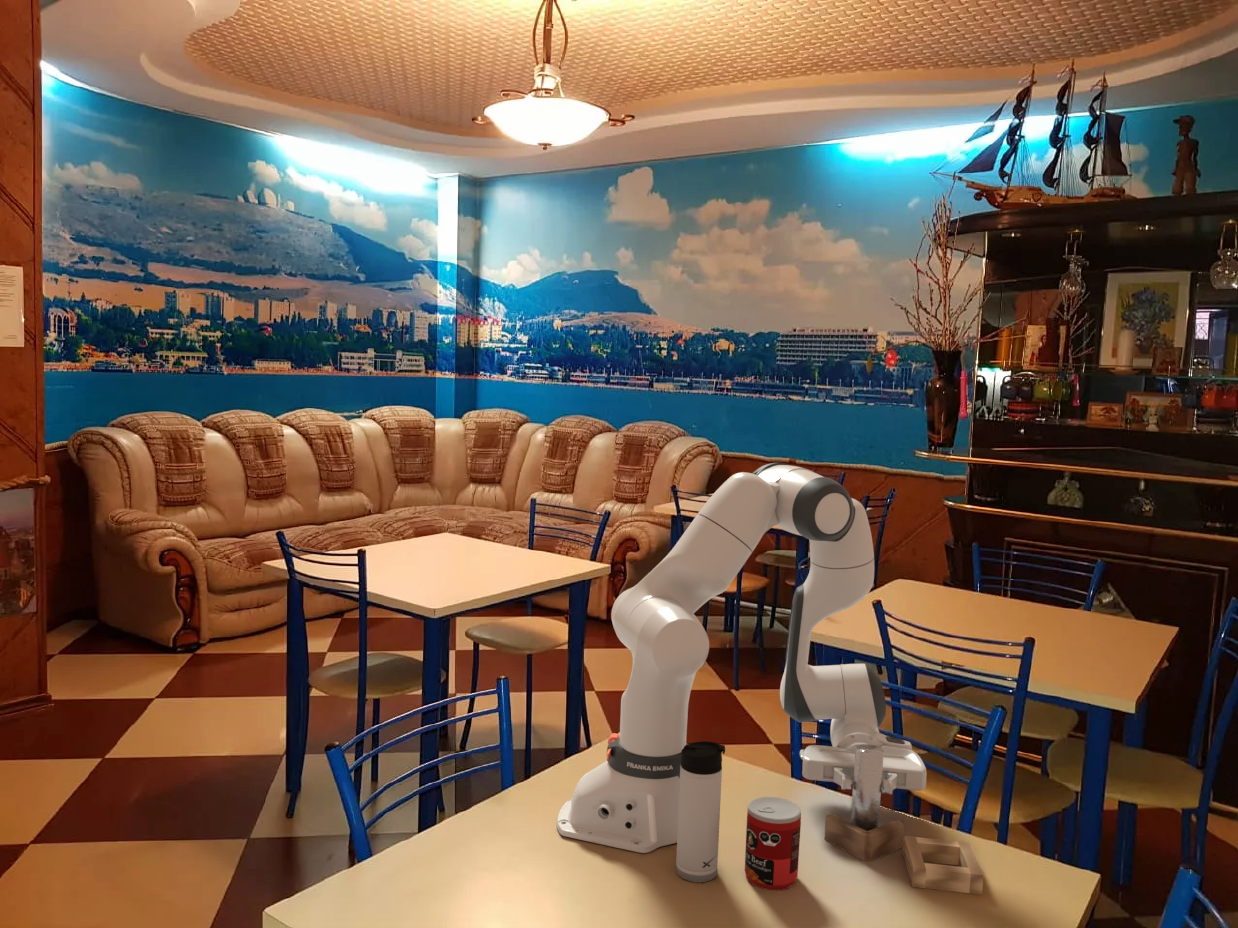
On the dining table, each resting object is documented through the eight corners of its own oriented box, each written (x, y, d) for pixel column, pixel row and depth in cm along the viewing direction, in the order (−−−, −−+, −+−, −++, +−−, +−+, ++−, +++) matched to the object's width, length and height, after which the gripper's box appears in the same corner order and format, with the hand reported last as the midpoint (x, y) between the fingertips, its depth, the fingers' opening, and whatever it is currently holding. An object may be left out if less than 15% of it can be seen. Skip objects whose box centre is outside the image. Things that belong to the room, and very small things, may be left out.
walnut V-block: (826, 855, 149) (827, 831, 149) (823, 835, 156) (825, 812, 155) (907, 864, 147) (909, 840, 147) (901, 844, 154) (903, 820, 153)
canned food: (734, 869, 144) (738, 800, 143) (779, 860, 147) (782, 792, 146) (761, 895, 137) (765, 822, 136) (807, 885, 140) (811, 814, 139)
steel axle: (850, 849, 151) (857, 753, 150) (848, 836, 156) (854, 742, 154) (878, 852, 151) (885, 756, 149) (875, 839, 155) (882, 745, 154)
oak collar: (912, 886, 141) (913, 867, 140) (902, 853, 151) (904, 835, 150) (982, 894, 139) (983, 875, 139) (967, 860, 149) (969, 842, 149)
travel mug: (717, 885, 139) (723, 755, 137) (673, 879, 140) (678, 750, 138) (721, 864, 145) (727, 739, 143) (678, 859, 146) (684, 734, 145)
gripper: (800, 731, 166) (802, 762, 153) (919, 742, 163) (933, 775, 150) (798, 765, 167) (800, 799, 153) (917, 777, 164) (930, 813, 150)
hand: (867, 787), depth 151 cm, fingers open, 5 cm apart
